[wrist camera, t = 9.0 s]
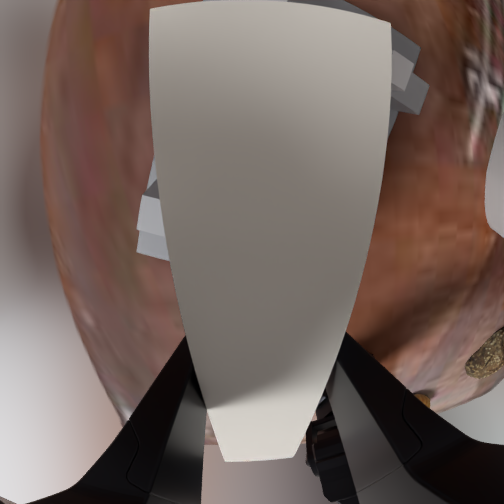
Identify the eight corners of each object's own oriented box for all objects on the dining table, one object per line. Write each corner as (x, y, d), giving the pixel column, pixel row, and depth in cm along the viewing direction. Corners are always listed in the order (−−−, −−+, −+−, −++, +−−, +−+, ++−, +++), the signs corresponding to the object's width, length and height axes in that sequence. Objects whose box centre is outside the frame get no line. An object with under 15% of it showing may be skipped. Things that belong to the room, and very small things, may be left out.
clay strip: (285, 409, 14) (293, 457, 11) (223, 413, 13) (224, 461, 11) (328, 46, 5) (391, 23, 3) (185, 44, 5) (150, 9, 2)
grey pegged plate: (227, -31, 10) (225, -76, 5) (411, 49, 12) (467, 43, 7) (141, 243, 19) (114, 294, 14) (306, 285, 22) (324, 340, 17)
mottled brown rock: (476, 372, 38) (485, 389, 34) (456, 367, 34) (468, 388, 30) (517, 327, 33) (529, 344, 28) (507, 314, 29) (522, 333, 25)
